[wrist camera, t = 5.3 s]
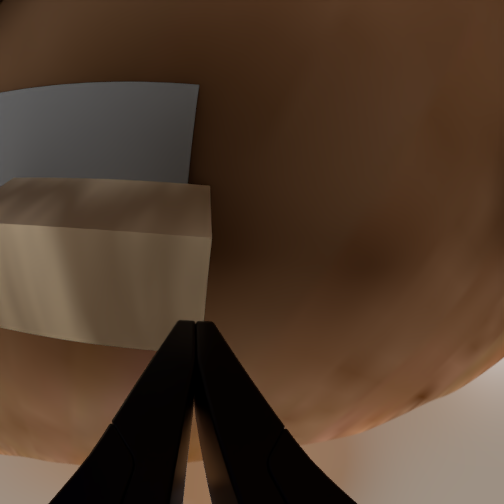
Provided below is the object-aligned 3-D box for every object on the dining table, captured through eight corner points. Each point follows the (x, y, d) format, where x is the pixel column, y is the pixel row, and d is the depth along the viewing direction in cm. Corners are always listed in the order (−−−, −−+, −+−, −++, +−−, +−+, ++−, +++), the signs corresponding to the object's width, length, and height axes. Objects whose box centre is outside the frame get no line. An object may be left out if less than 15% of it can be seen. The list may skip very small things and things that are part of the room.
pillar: (212, 237, 7) (-48, 220, 6) (201, 353, 9) (-16, 323, 8) (210, 185, 11) (12, 177, 9) (200, 280, 13) (25, 264, 11)
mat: (199, 84, 9) (199, 84, 9) (180, 333, 15) (179, 339, 14) (-29, 98, 8) (-35, 100, 7) (5, 311, 13) (2, 316, 12)
